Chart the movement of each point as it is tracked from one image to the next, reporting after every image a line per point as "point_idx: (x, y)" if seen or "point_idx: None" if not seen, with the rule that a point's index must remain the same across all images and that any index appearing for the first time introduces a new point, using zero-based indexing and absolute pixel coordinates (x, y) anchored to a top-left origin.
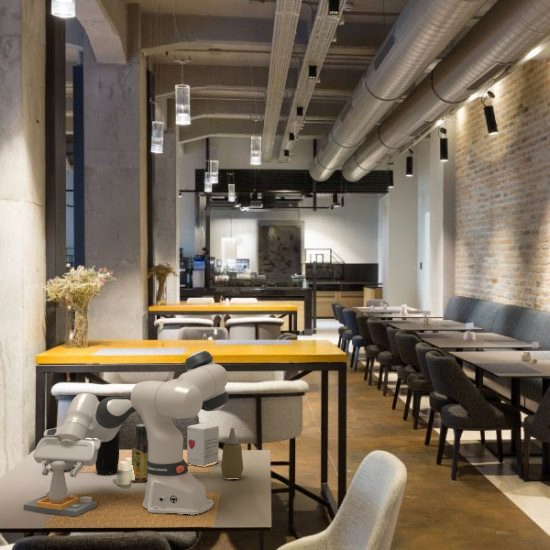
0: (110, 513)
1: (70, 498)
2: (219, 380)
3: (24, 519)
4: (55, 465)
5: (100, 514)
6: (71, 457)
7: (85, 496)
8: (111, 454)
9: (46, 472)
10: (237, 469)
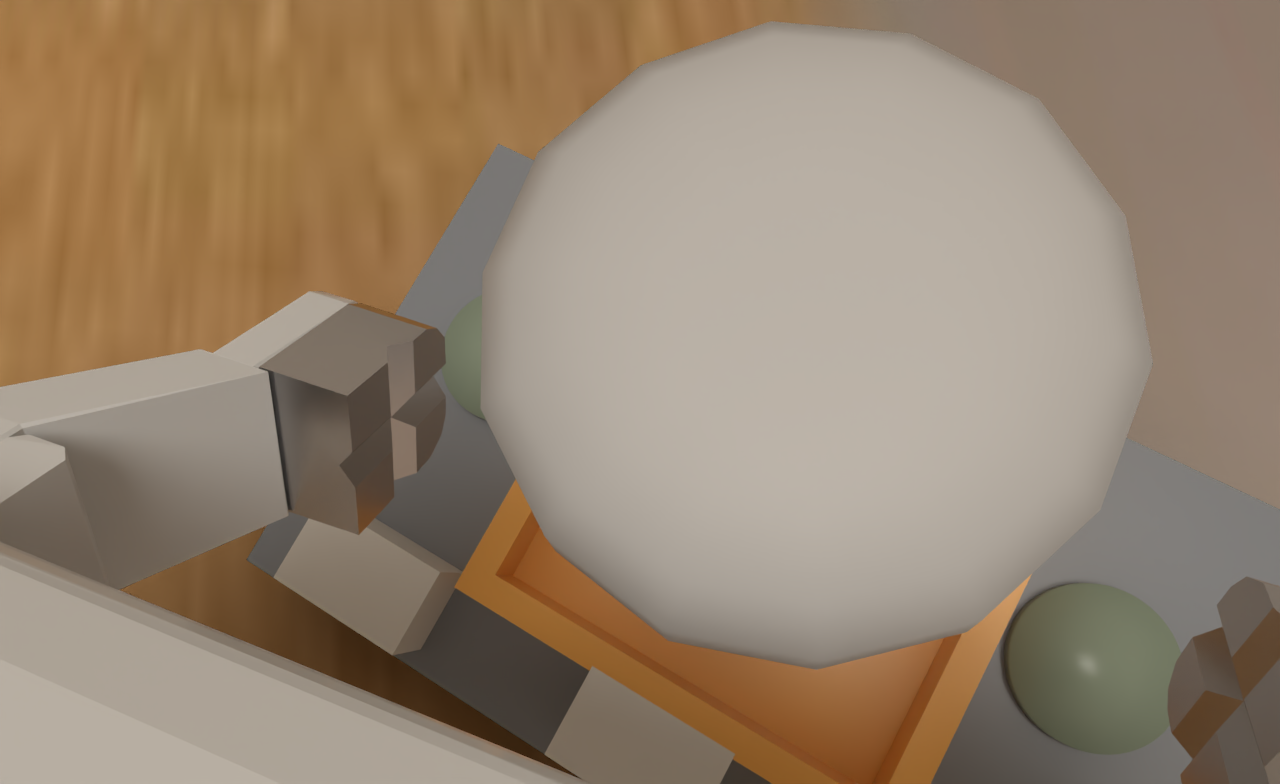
0: (143, 277)
1: (598, 632)
2: None
3: (1139, 122)
4: (878, 38)
5: (248, 250)
6: (44, 663)
7: (362, 620)
8: None
9: (1239, 625)
10: None
